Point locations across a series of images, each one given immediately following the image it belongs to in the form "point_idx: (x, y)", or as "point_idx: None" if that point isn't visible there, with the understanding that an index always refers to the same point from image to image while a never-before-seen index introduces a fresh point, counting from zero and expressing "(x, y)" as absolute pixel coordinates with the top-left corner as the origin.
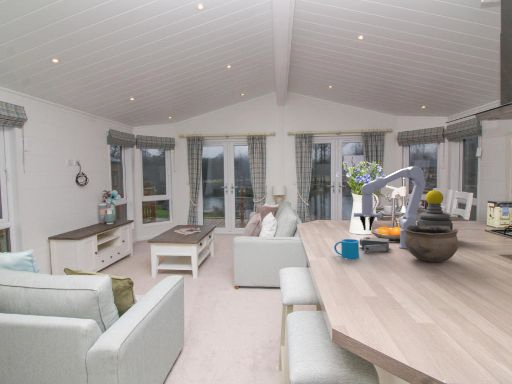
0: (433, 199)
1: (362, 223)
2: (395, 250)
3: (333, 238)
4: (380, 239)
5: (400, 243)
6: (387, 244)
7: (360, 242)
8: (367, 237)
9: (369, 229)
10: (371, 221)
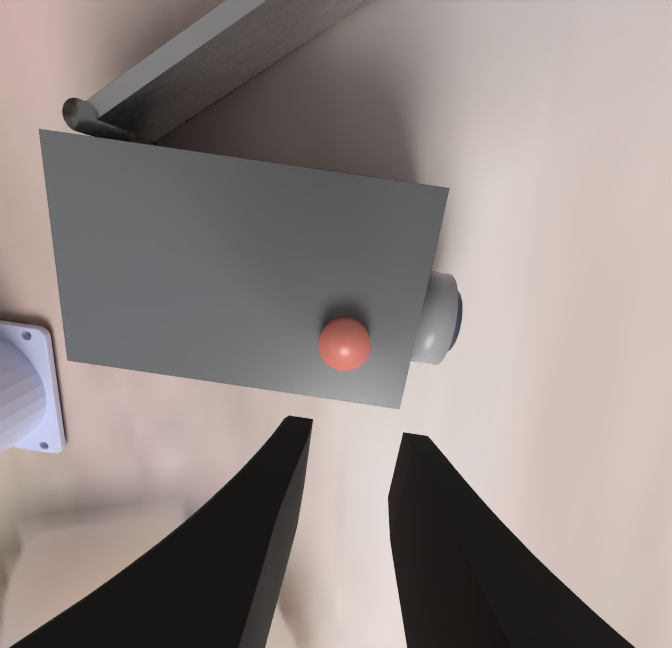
0: None
1: (560, 581)
2: None
3: (651, 607)
4: (169, 295)
5: (16, 392)
6: (70, 103)
7: (447, 275)
8: (354, 323)
9: (306, 425)
10: (108, 641)
